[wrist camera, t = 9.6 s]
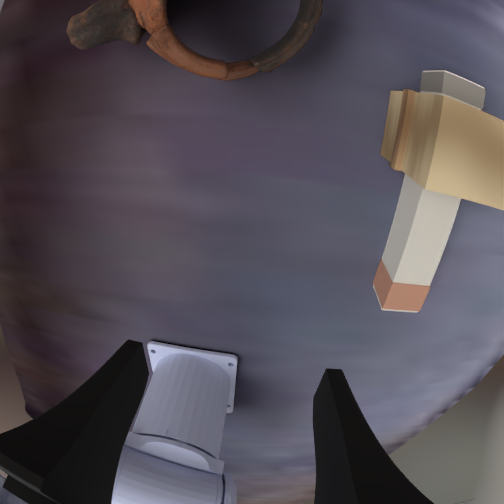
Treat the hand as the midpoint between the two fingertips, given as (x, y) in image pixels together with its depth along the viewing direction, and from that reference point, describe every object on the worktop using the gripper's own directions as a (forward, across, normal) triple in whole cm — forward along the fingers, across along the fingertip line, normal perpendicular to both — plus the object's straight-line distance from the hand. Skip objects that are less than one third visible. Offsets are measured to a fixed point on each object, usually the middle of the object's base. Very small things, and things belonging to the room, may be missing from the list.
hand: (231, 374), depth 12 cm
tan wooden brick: (+10, -10, -9) cm, 17 cm away
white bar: (+10, -10, -6) cm, 16 cm away
